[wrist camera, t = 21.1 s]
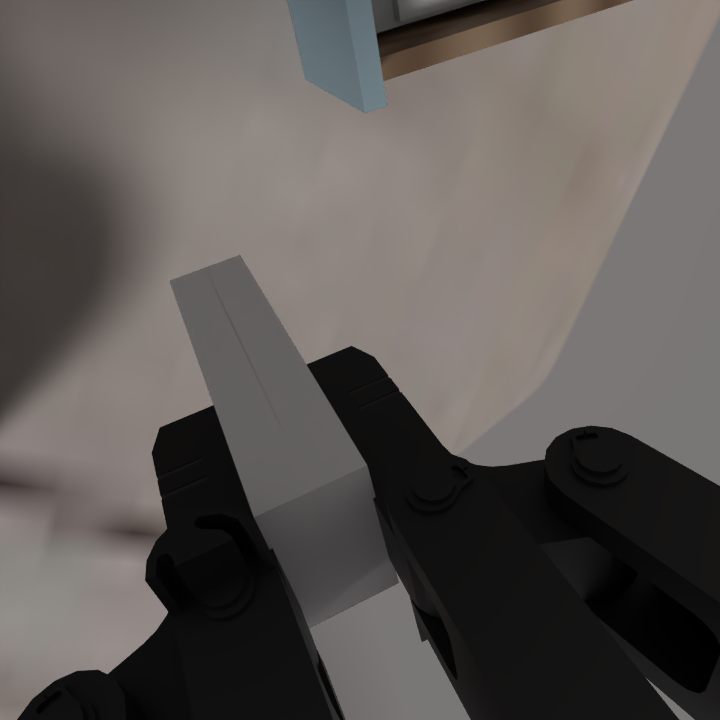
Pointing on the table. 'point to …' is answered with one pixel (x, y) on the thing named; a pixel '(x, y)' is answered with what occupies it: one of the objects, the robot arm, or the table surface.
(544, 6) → the brown wooden frame
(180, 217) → the table surface
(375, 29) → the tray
